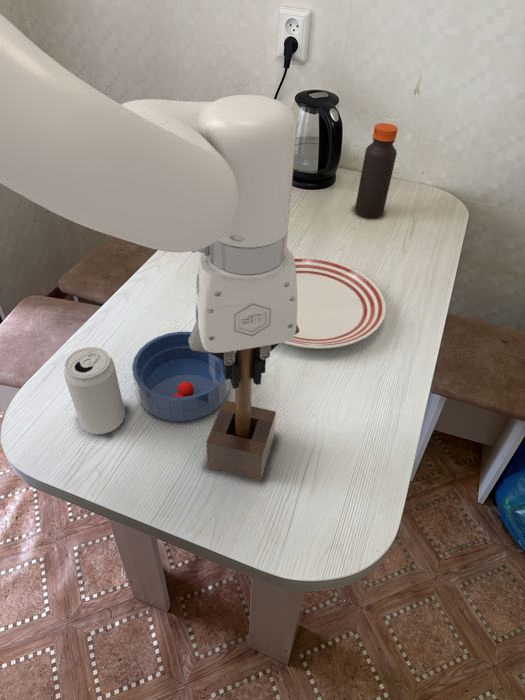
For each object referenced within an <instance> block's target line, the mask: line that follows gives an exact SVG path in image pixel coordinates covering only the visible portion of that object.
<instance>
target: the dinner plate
mask: <svg viewBox="0 0 525 700" xmlns="http://www.w3.org/2000/svg"><path fill="white" fill-rule="evenodd" d="M294 260H295V267H296V277H297V325H298V328H299V332H298V333H297V334H295V335H294V336H293V337H292V338H291V339H290V340H288V341H286V342H283V344H285V345H288V346H293V347H298V348H303V349H317V350H319V349H320V350H322V349H334V348H341V347H345V346H349V345H352V344H355V343H358V342H361V341H362V340H364V339H366V338H368V337H370V336H371V335H372V334H373V333H375V332H376V331H377V330H378V329H379V328H380V326H381V325H382V323H383V321H384V319H385V316H386V312H387V311H386V310H387V309H386V308H387V307H386V306H387V305H386V302H385V297H384V295H383V293H382V291H381V289H380V288H379V287H378V286H377V285H376V283H374V282H373V281H372V279H370V278H369V277H368V276H366V275H365V274H363V273H362V272H361V271H359V270H356V269H355V268H353V267H351V266H348V265H346V264H344V263H341V262H338V261H335V260H331V259H328V258H327V259H326V258H321V257H316V256H315V257H314V256H294Z"/></svg>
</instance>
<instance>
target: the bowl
mask: <svg viewBox="0 0 525 700" xmlns="http://www.w3.org/2000/svg"><path fill="white" fill-rule="evenodd" d="M191 332H192V331H175V332H174V331H173V332H167V333H164V334H162V335H159V336H157V337H154V338H153V339H151V340H149V341H148V342H146V343H145V344H144V345H143V346H142V347H141V348H140V349H139V350H138V351H137V353H136V355H135V356H134V358H133V363H132V366H131V368H132V369H131V370H132V376H133V381H134V386H135V392H136V397H137V399H138V402H139V403H140V404H141V407H143V408H144V409H145V410H146V411H147V412H148V413H150V414H151V415H154V416H155V417H157V418H159V419H162V420H167V421H172V422H175V421H176V422H188V421H193V420H198V419H200V418H203V417H205V416H207V415H210V414H211V413H213V412H214V411H216V410H217V409H218V408H219V407H221V406H222V403H223V401H224V400H227V397H228V394H229V392H230V385H231V381H230V379H227V380H226V379H225V377H224V373H223V360H221V359H219V358H218V357H216V356H214V355H212V354H210V352H207V351H206V352H201V351H194V350H191V349H190V345H189V341H188V339H189V337H190V335H191ZM182 382H189V383H191V384H192V385H193V388H194V392H193V394H192V395H191V396H185V397H172V396H173V395H174V394H178V386H179V385H180V384H181V383H182Z"/></svg>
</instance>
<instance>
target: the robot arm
mask: <svg viewBox="0 0 525 700" xmlns="http://www.w3.org/2000/svg"><path fill="white" fill-rule="evenodd" d="M296 139H297V121H296V117H295V115H294V113H293V112H292V110H291V109H290V107H289V106H288V105H286V104H285V103H283V102H282V101H280V100H277V99H275V98H272V97H269V96H264V95H259V94H234V95H228V96H225V97H221V98H218V99H216V100H214V101H192V100H191V101H189V100H188V101H187V100H171V99H160V98H159V99H158V98H157V99H155V98H144V99H143V98H142V99H134V100H130V101H127V102H123V103H121V104H120V103H118V102H117V101H115V100H114V99H112V98H110V97H109V96H108V95H105V94H104V93H102V91H101V92H100V90H97V89H96V88H95V87H93V86H92V85H91V84H89V83H87V82H85V80H82V79H81V78H79V77H78V76H77V75H75V74H74V73H73V72H71V71H70V70H68V69H66V68H65V67H64V66H62V64H60V63H58V61H56V60H55V59H54V58H53V57H51V56H50V55H49V54H47V53H46V52H44V50H42V49H41V47H38V45H37V44H35V43H34V42H33V41H32V40H31V39H30V38H29V37H27V36H26V35H25V34H24V33H23V32H22V31H20V29H18V28H17V27H16V25H14V24H13V23H12V22H11V21H9V19H7V18H6V17H5V16H4V15H3V14H2V13H0V184H1V185H3V186H4V187H6V188H8V189H10V190H11V191H13V192H15V193H16V194H19V195H20V196H22V197H23V198H26V199H28V200H29V201H31V202H32V203H34V204H37V205H39V206H40V207H42V208H43V209H46V210H48V211H50V212H52V213H54V214H56V215H58V216H60V217H62V218H64V219H66V220H68V221H71V222H73V223H76V224H78V225H80V226H82V227H85V228H87V229H91V230H93V231H96V232H99V233H102V234H105V235H108V236H111V237H114V238H117V239H121V240H124V241H126V242H129V243H133V244H135V245H139V246H142V247H145V248H149V249H152V250H157V251H160V252H161V251H162V252H168V253H178V254H179V253H200V257H199V261H198V267H197V273H196V286H195V323H194V325H193V328H192V330H191V331H190V332H191V335H190V337H189V339H188V341H189V345H190V349H191V350H194V351H201V352H206V351H207V352H210V354H212V355H214V356H216V357H218V358H219V359H221V360H223V373H224V377H225V379H226V380H227V379H230V385H231V387H232V389H233V390H235V389H236V388H238V387H239V363H238V360H237V358H236V355H235V351H236V350H243V349H249V348H253V370H252V383H253V384H254V385H256V386H258V385H261V384H262V374H266V364H267V359H269V358H270V357H271V352H272V351H273V350H275V348H276V347H278V346H279V345H281V344H282V343H283V342H286V341H288V340H290V339H291V338H292V337H293V336H294V335H295V334H297V333H298V332H299V328H298V325H297V277H296V267H295V260H294V257H295V256H294V254H293V253H292V251H290V249H289V248H288V247H287V246H288V234H289V224H290V213H291V212H290V211H291V201H292V200H291V199H292V188H293V179H294V178H293V177H294V164H295V151H296V143H297V141H296ZM283 344H284V343H283Z"/></svg>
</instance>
